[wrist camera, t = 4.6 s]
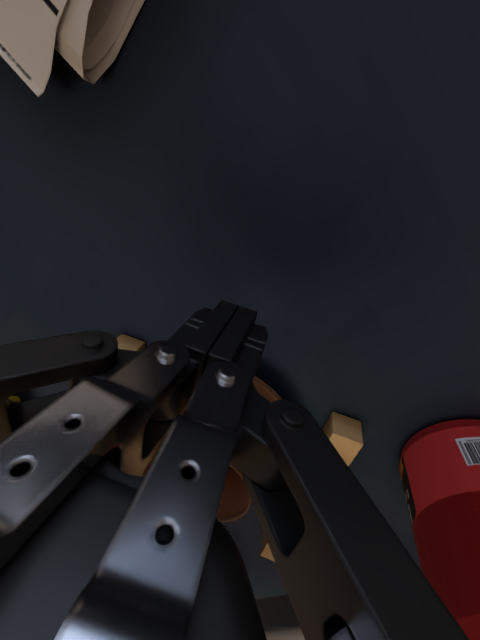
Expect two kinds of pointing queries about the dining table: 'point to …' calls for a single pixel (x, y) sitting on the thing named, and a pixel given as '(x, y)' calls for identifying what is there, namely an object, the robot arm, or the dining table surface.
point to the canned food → (447, 513)
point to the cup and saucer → (237, 474)
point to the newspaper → (63, 36)
